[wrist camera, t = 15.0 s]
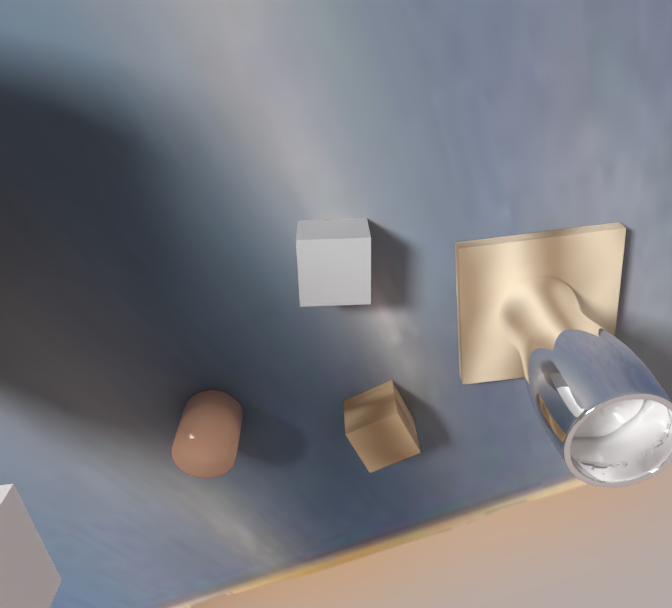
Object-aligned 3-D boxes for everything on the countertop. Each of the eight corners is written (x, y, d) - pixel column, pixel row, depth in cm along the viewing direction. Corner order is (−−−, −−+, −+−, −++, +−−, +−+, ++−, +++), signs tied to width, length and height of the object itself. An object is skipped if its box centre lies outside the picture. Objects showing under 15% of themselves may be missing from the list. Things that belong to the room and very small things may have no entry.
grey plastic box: (301, 281, 46) (299, 306, 42) (297, 219, 43) (295, 240, 40) (366, 279, 46) (370, 304, 42) (366, 217, 44) (371, 237, 40)
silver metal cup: (520, 365, 48) (596, 509, 35) (473, 306, 46) (537, 436, 32) (598, 318, 46) (710, 450, 33) (555, 252, 44) (657, 368, 30)
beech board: (459, 376, 50) (462, 384, 49) (454, 242, 44) (458, 248, 43) (605, 359, 50) (611, 367, 48) (618, 222, 44) (626, 227, 43)
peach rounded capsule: (192, 440, 53) (180, 481, 48) (177, 393, 50) (164, 432, 46) (248, 433, 52) (241, 474, 48) (236, 386, 50) (228, 425, 46)
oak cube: (366, 436, 53) (370, 473, 49) (343, 399, 51) (345, 434, 47) (413, 417, 52) (420, 452, 48) (391, 379, 50) (397, 413, 46)
